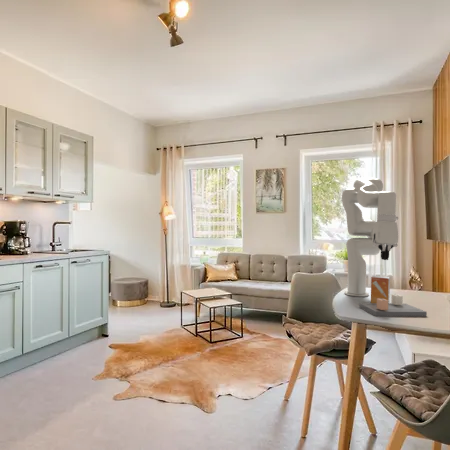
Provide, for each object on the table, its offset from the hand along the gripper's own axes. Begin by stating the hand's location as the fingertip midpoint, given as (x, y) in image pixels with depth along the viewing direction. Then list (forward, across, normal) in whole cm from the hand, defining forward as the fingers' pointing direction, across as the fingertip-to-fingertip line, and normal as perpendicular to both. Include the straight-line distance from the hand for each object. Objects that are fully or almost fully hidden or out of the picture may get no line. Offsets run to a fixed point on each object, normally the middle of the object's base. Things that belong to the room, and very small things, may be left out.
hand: (384, 259), depth 160 cm
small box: (+24, -6, -15) cm, 29 cm away
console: (+23, -2, +4) cm, 23 cm away
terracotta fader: (+20, +5, +9) cm, 22 cm away
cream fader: (+21, -7, -1) cm, 22 cm away
